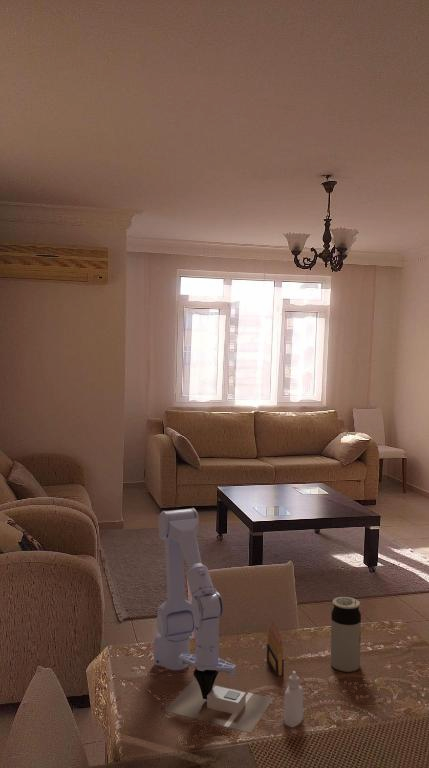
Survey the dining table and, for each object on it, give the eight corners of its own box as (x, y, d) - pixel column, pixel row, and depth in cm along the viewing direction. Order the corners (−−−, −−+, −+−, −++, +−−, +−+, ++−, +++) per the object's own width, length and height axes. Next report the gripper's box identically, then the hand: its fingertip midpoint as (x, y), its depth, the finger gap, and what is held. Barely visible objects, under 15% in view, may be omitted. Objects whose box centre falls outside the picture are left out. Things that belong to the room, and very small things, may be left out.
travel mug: (327, 669, 180) (328, 604, 179) (333, 656, 188) (334, 594, 187) (357, 675, 177) (358, 609, 176) (362, 661, 185) (363, 598, 184)
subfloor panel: (164, 714, 158) (164, 710, 158) (193, 683, 172) (193, 679, 172) (250, 737, 149) (250, 733, 149) (273, 702, 164) (273, 698, 164)
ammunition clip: (283, 678, 175) (284, 634, 174) (277, 679, 175) (277, 635, 174) (273, 660, 186) (273, 618, 185) (266, 660, 185) (267, 618, 185)
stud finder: (207, 707, 159) (207, 694, 159) (215, 697, 164) (215, 684, 164) (237, 715, 156) (238, 702, 156) (245, 704, 161) (245, 691, 160)
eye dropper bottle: (278, 719, 156) (278, 670, 155) (298, 714, 158) (299, 665, 158) (288, 729, 152) (288, 678, 151) (308, 723, 154) (309, 673, 154)
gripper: (172, 644, 160) (172, 698, 161) (228, 655, 155) (227, 712, 155) (185, 632, 167) (185, 685, 168) (239, 643, 161) (238, 697, 162)
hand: (206, 697), depth 162 cm, fingers closed
